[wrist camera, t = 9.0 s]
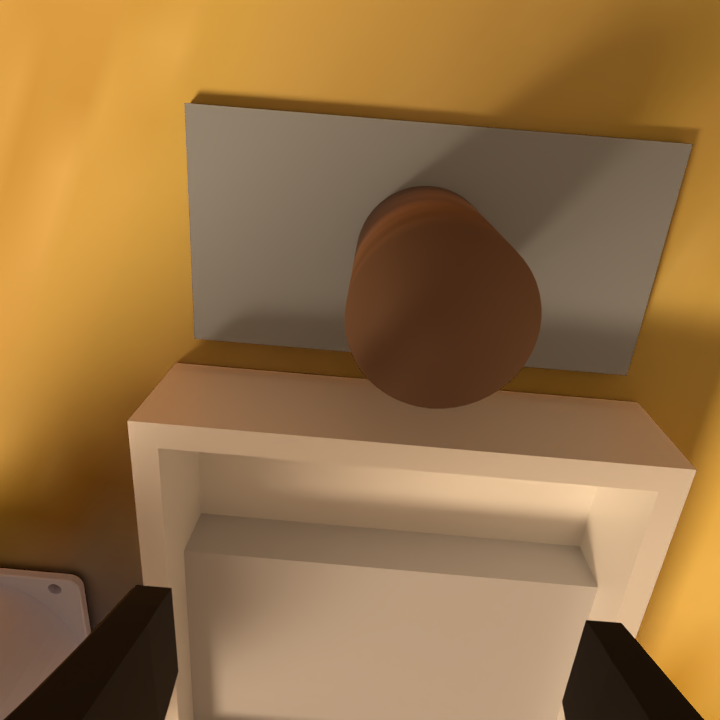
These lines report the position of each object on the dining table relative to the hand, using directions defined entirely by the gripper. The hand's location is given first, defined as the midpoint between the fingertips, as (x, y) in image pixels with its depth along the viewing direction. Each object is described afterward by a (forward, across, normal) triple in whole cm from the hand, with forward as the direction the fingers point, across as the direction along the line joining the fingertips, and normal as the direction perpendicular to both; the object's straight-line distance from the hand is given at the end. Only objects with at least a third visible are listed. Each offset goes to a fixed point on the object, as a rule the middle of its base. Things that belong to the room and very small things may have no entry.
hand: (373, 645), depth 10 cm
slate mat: (+10, -1, -5) cm, 11 cm away
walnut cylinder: (+10, -1, -5) cm, 11 cm away
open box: (+10, -1, +7) cm, 13 cm away
